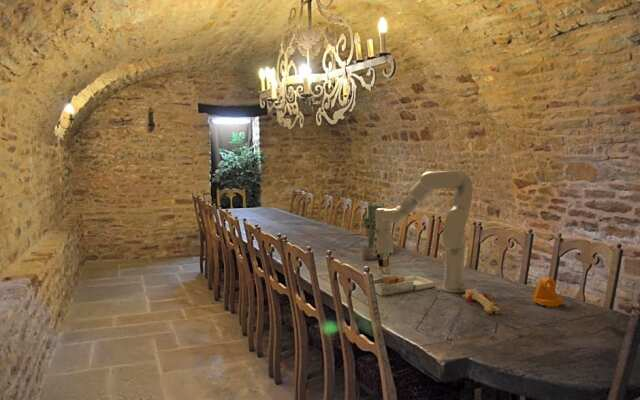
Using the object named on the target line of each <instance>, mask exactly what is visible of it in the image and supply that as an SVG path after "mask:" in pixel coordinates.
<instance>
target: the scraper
mask: <svg viewBox="0 0 640 400" xmlns="http://www.w3.org/2000/svg"><path fill="white" fill-rule="evenodd" d="M382 259H383V267H380V266H379V264H376V273H377V274H381V275H385V276H390V275H391V274H392V273H391V272H392V267H391V266H390V265H389V266H388V255H387V253H385V254H382ZM391 276H392V275H391Z"/></svg>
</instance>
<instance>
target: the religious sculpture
mask: <svg viewBox="0 0 640 400" xmlns="http://www.w3.org/2000/svg"><path fill="white" fill-rule="evenodd" d="M377 208H386V205H382V204H368V205H367V210H368V211H367V216H364V217H363V228H364V229H365V230H367V233H368V237H367V238H368V240H367V241H368V242H367V243H368V248H370V247H374V237H375V234H376V233H375V232H374V231H375V230H376V220H375V210H376V209H377Z"/></svg>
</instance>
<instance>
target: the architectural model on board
mask: <svg viewBox="0 0 640 400" xmlns="http://www.w3.org/2000/svg"><path fill="white" fill-rule="evenodd" d="M373 252H374V247H366V248H365V247H362V256H363V257H362V260H364V261H370V260H377V257H376V256H374V255H373Z"/></svg>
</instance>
